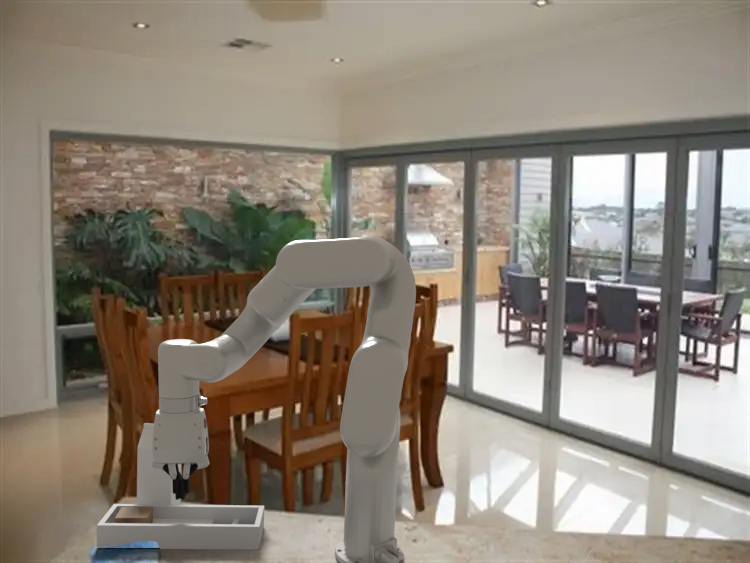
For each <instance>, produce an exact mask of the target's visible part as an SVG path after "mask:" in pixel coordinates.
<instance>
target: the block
mask: <svg viewBox="0 0 750 563" xmlns="http://www.w3.org/2000/svg"><path fill="white" fill-rule="evenodd" d="M152 522H153V507H122V508H121V509H120V511H119V512H118V514H117V515H116V517H115V523H150V524H152Z"/></svg>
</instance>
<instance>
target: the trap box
mask: <svg viewBox="0 0 750 563" xmlns="http://www.w3.org/2000/svg"><path fill="white" fill-rule="evenodd" d="M122 507H153V522H152V524H150V523H115V517H116V515H117V514H118V512H119V511H120V509H121V508H122ZM264 528H265V505H251V504H250V505H248V504H247V505H244V504H243V505H241V504H240V505H239V504H235V505H234V504H181V505H169V504H137V503H113V504H112V505H111V507H110V508H109V509H108V510H107V512H106V513H105V514H104V516H103V517H102V518H101V519H100V521H99V522H98V523H97V524H96V548H97V547H102V546H110V545H118V544H125V543H131V542H139V541H155V542H157V543H158V545H159V548H160V549H159V550H211V551H212V550H217V551H218V550H219V551H220V550H225V551H226V550H234V551H235V550H237V551H239V550H241V551H246V550H247V551H249V550H250V551H252V550H253V551H258V550H260V546H261V542H262V537H263V532H264Z"/></svg>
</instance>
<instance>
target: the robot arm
mask: <svg viewBox="0 0 750 563" xmlns="http://www.w3.org/2000/svg"><path fill="white" fill-rule="evenodd" d="M416 284H417V283H416V279H415V275H414V271H413V268H412V266H411V265H410V262H409V261H408V259H407V258H406V257H405V255H404V254H403V253H402V252H401V251H400V250H399V249H398V248H397V247H396V246H394V245H393V244H392V243H390V242H389V241H387V240H385V239H384V238H381V237H377V236H362V237H347V238H346V237H345V238H334V239H333V238H332V239H316V240H315V239H297V240H293V241H290V242H289V243H286V244H285V245H284V246H283V247H282V248H281V249H280V250H279V252H278V254H277V257H276V260H275V265H274V266H273V267H272V268H271V269H270V270H269V271H268V272H267V273H266V275H264V276H263V278H262V279H261V280H259V282H258V283H257V284H255V286H254V287H253V288H252V289H251V290H250V292H249V293H248V295H247V298H246V304H245V307H244V309H242V310H243V311H242V312H241V313H240V314H239V316H238V317H237V318H236V319H235V320H234V322H232V323H231V324H230V325H229V327H227V329H225V331H224V332H223V333H221V334H220V336H218V337H216V338H214V339H212V340H209V341H207V342H204V343H197V341H195V340H192V339H188V338H187V339H185V338H176V339H175V338H174V339H167V340H165V341H162V342H160V344H159V345H158V348H157V357H158V358H157V359H158V360H157V364H158V366H157V367H158V368H157V370H158V371H157V372H158V405H159V406H158V409H157V410H156V412H155V415H154V422H153V424H154V429H153V441H152V457H153V463H152V467H153V468H155V469H160V470H164V471H165V472H166V473H167V474H168V475H169V476H170V478H171V479H172V484H173V494H175V497H176V500H179V499H181V501H183V500H184V501H185V499H186V497H187V495H188V494H190V492H191V478H190V477H191V476H192V475H193V474H194V473H195V471H197V470H202V469H205V468H207V467H208V466H209V465H210V460H209V456H208V454H209V452H210V451H209V450H210V445H209V444H210V443H209V432H208V431H209V430H208V429H209V428H208V422H207V421H208V420H207V416H206V411H205V409H204V407H203V408H202V406H204V405H208V397H204V396H202V395H201V392H200V382H205V383H217V382H220V381H222V380H224V379H225V378H227V377H229V376H230V375H232V374H234V373H236V371H238V370H240V369H241V368H242V367H244V365H246V363H247V362H248V361H250V359H251V358H252V357H253V356H254V355H255V354H257V352H258V351H259V350H260V349H261V348H262V347H263V346H264V345H265V344H266V343H267V341H269V339H270V338H271V337H272V336H273V335H274V334H275V333H276V332H277V331H278V330H279V329H280V328H281V327H282V325H283V324H284V323H285V322H286V321H287V320H288V319H289V318H290V317H291V315H292V314H294V313H295V311H296V310H297V309H298V308H299V307H301V305H302V304H303V303H304V302H305V301H306V300H307V298H308V297H310V296H311V295H312V294H313V293H314V292H315V291H316V290H317V289H320V290H321V289H338V288H340V289H342V288H345V289H346V288H362V287H363V288H365V287H369V289H370V295H369V296H370V297H369V303H368V307H367V312H366V322H365V327H364V333H363V338H362V342H361V344H360V345H359V347H358V348H357V349H356V350H355V353H353V356H352V358H351V361H350V364H349V368H348V374H347V380H346V386H345V391H344V392H345V393H344V399H343V405H342V411H341V416H340V423H339V424H340V425H339V430H340V437H341V439H342V442H343V444H344V445H345V447H346V448H347V454H346V470H345V473H346V474H345V492H344V493H345V495H344V522H343V539H342V540H341V541H340V542H338V543H337V545H335V548H334V549H335V550H334V555H335V556H334V557H335V559H336V560H337V561H338V563H400V562H401V561H402V560H404V558H405V554H404V553H403V551H402V548H401V546H399V544H398V538H397V537H395V532H396V531H395V527H396V510H397V509H396V508H397V505H396V504H397V503H396V502H397V480H398V464H399V461H398V460H399V447H400V446H399V445H400V435H401V434H400V433H401V432H400V431H401V421H402V420H401V418H402V417H401V410H400V403H401V395H402V391H403V390H402V389H403V384H404V379H405V376H406V372H407V370H408V366H409V351H410V350H409V349H410V344H411V336H412V330H413V323H414V317H415V316H414V315H415V309H416V300H417V299H416V298H417V297H416V296H417V285H416ZM178 464H181V465H182V464H183V470H182V472H183V473H181V474H180V472H179V466H178Z"/></svg>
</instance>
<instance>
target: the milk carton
mask: <svg viewBox="0 0 750 563" xmlns="http://www.w3.org/2000/svg"><path fill="white" fill-rule="evenodd" d="M153 429H154V423H149V422H145V423H143V428H142V432H141V436H140V438H139V441H138V443H137V444H138V445H137V454H136V455H137V457H136V460H137V461H136V464H137V466H136V467H137V468H136V470H137V471H136V504H169V505H182V504H181V502H182V500H181V499H179V500H176V497H175V494H173V484H172V479H171V478H170V476H169V475H168V474H167V473H166V472H165V471H164V470H160V469H155V468H153V467H152V463H153V457H152V441H153ZM178 466H179V472H180V474H181V475H182V464H178Z"/></svg>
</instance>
